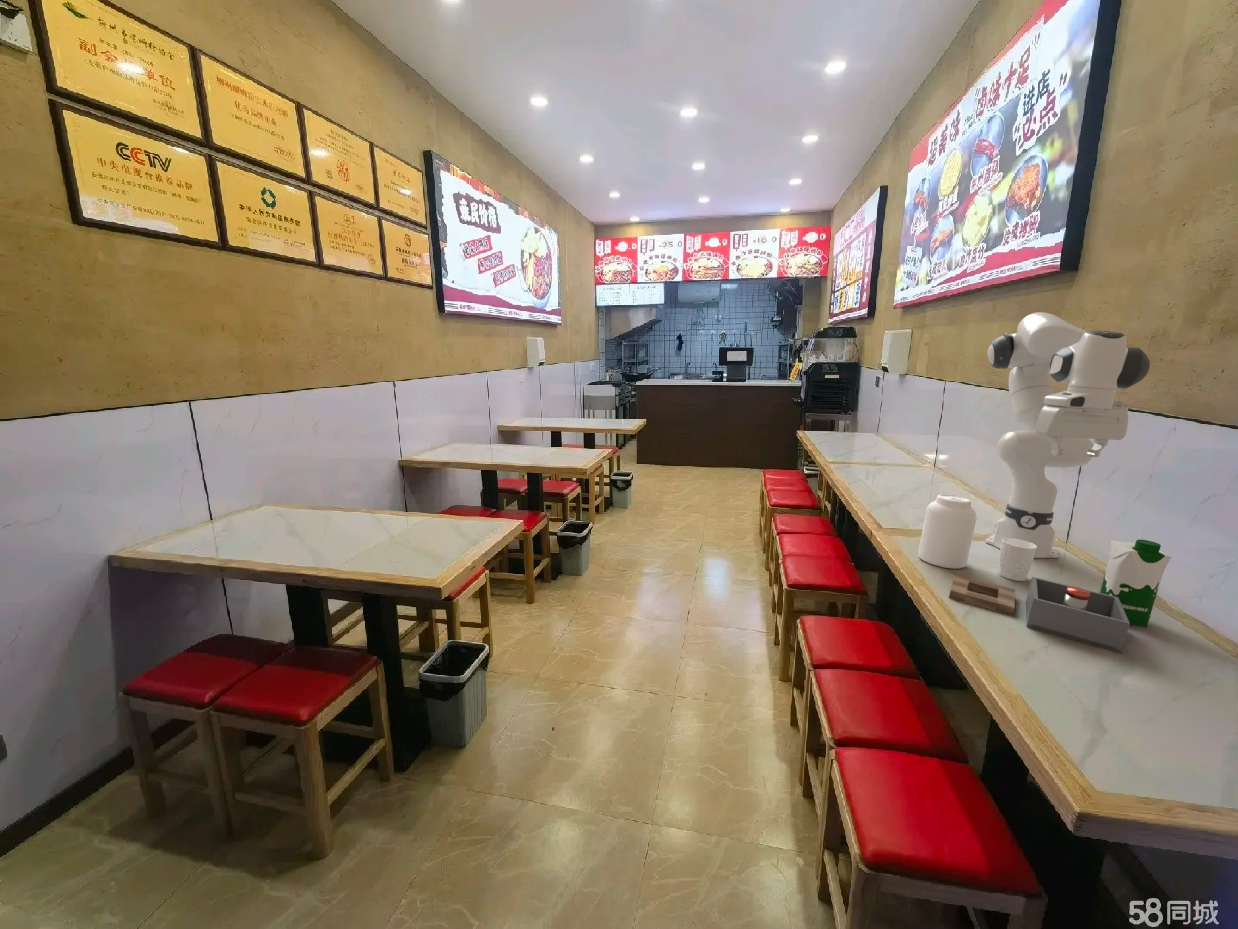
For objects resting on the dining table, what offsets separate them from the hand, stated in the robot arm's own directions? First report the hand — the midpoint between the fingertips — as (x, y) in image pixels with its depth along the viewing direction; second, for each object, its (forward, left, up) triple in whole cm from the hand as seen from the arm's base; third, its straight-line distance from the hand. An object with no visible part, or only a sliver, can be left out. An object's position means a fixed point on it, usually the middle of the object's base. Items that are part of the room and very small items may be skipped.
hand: (1074, 456), depth 127 cm
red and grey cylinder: (+17, +5, -36) cm, 40 cm away
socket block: (+14, -12, -37) cm, 41 cm away
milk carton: (+2, +15, -37) cm, 40 cm away
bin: (+17, +5, -37) cm, 41 cm away
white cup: (-9, -6, -37) cm, 39 cm away
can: (-7, -23, -37) cm, 44 cm away
